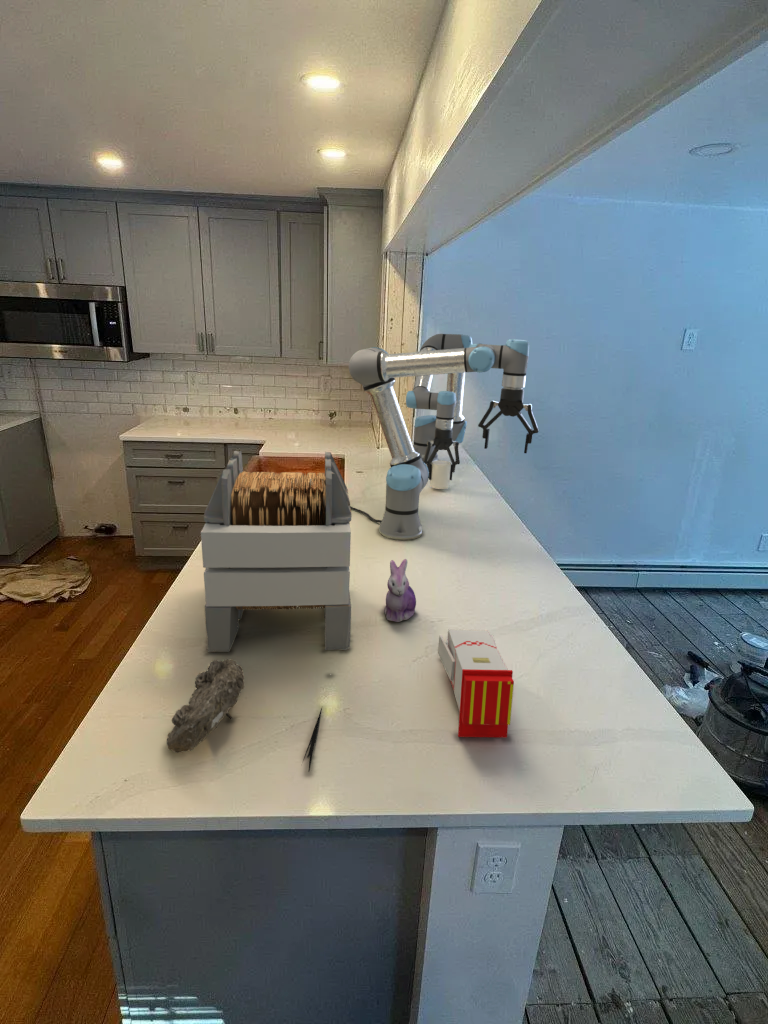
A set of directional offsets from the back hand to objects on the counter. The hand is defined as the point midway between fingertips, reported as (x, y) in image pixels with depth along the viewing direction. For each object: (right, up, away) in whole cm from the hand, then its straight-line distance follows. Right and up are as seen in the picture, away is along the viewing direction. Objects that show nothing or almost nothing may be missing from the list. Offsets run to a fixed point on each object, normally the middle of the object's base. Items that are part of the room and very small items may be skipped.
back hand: (440, 479), depth 250 cm
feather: (-37, -54, -141) cm, 156 cm away
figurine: (-21, -41, -103) cm, 113 cm away
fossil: (-57, -54, -142) cm, 162 cm away
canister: (0, -3, +1) cm, 3 cm away
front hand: (+17, +7, -54) cm, 57 cm away
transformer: (-50, -41, -106) cm, 124 cm away
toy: (-7, -52, -132) cm, 142 cm away
